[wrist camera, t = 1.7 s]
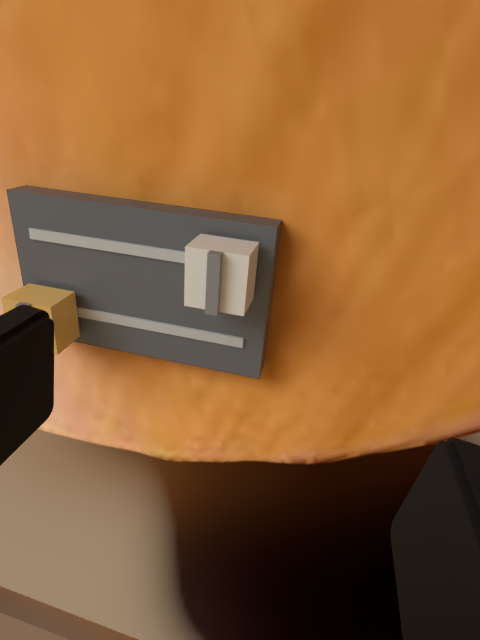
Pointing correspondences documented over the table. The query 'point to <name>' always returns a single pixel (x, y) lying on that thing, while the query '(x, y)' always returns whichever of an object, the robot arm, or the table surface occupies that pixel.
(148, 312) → the mixer console
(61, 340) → the amber fader
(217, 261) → the white fader
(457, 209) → the table surface
